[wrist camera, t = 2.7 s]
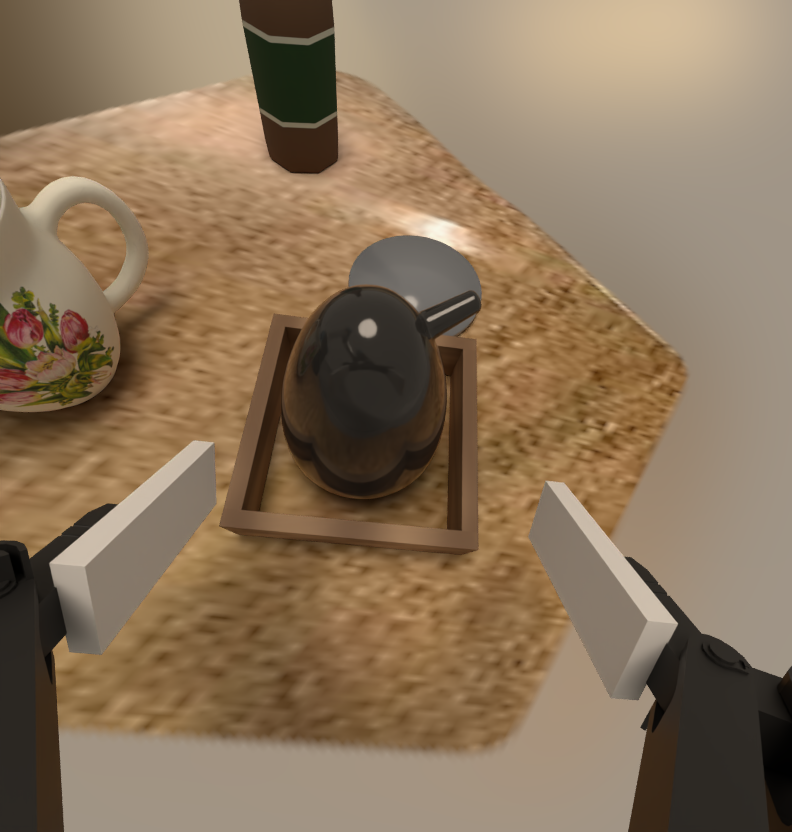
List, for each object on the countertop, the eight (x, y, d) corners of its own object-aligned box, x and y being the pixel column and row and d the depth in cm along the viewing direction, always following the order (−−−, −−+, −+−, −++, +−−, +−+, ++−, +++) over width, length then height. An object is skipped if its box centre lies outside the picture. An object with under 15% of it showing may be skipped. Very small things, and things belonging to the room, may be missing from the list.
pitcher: (224, 329, 32) (140, 161, 19) (5, 497, 25) (-345, 409, 12) (137, 258, 34) (8, 63, 21) (-88, 396, 27) (-473, 232, 14)
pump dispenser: (453, 479, 28) (549, 379, 15) (317, 531, 26) (277, 472, 12) (402, 366, 32) (439, 198, 18) (277, 403, 29) (210, 242, 16)
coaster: (340, 336, 32) (340, 331, 32) (357, 234, 37) (357, 227, 37) (479, 354, 33) (482, 348, 32) (478, 251, 38) (480, 244, 37)
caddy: (238, 534, 25) (219, 526, 22) (282, 344, 32) (273, 313, 28) (460, 554, 26) (478, 549, 23) (462, 366, 32) (476, 339, 29)
